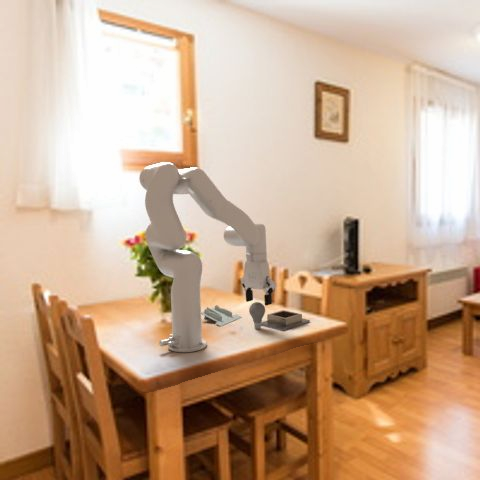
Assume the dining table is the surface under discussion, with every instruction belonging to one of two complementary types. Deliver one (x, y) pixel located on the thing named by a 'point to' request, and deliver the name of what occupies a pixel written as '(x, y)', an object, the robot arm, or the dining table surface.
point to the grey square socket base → (284, 320)
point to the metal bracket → (220, 315)
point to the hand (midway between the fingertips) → (258, 302)
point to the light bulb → (257, 313)
